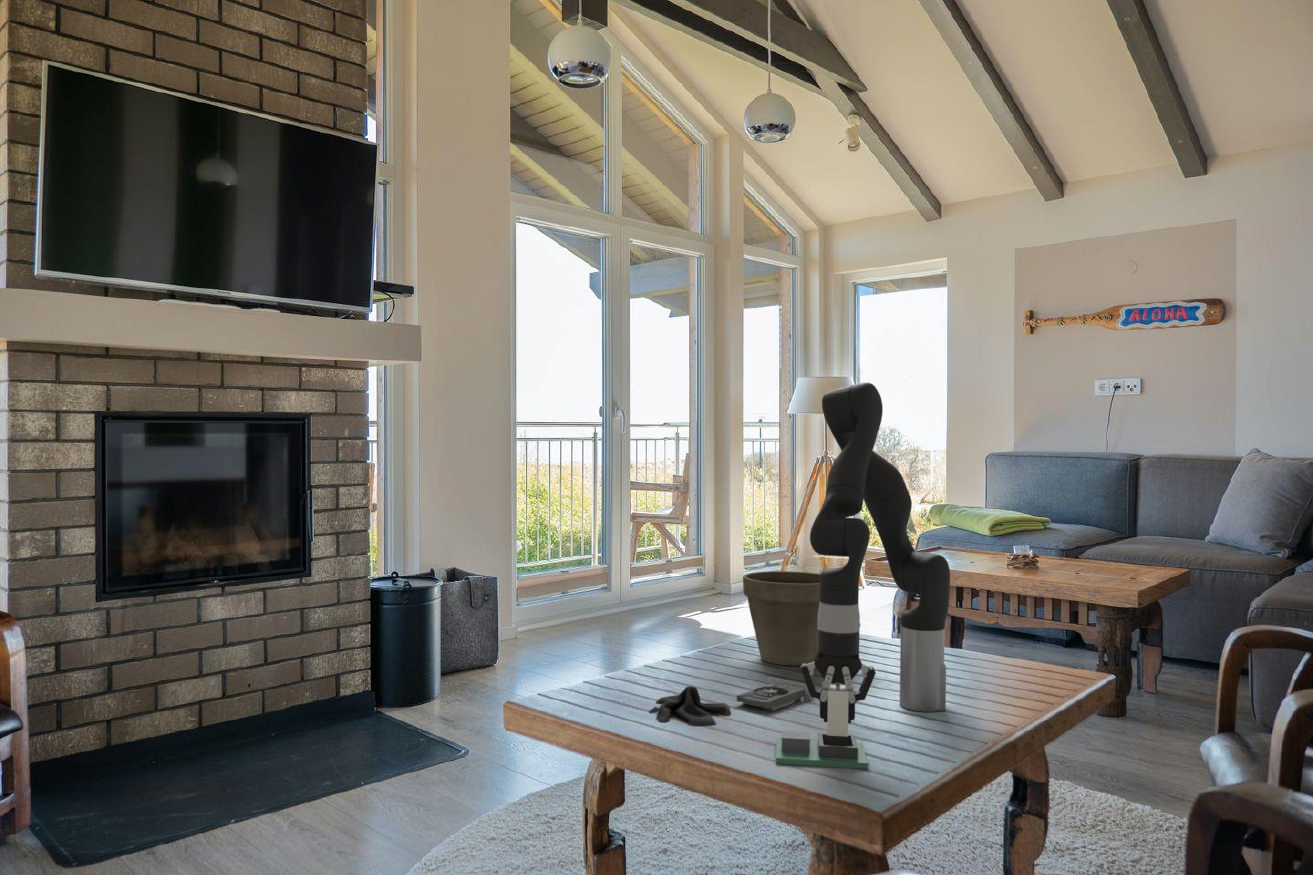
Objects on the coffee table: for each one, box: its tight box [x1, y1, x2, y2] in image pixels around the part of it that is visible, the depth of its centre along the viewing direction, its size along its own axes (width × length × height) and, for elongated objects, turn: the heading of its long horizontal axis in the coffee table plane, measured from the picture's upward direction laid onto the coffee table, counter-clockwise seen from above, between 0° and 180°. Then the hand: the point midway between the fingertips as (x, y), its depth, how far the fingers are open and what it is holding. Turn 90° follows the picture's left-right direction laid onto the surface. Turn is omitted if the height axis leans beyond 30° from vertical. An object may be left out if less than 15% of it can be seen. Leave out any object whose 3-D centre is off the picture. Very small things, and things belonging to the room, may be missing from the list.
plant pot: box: [742, 570, 821, 667], centre depth 247 cm, size 25×25×22 cm
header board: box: [775, 730, 869, 770], centre depth 174 cm, size 16×11×4 cm
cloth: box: [648, 685, 732, 726], centre depth 199 cm, size 22×19×6 cm
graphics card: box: [736, 676, 814, 711], centre depth 209 cm, size 17×4×12 cm
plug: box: [825, 683, 849, 737], centre depth 173 cm, size 4×4×9 cm
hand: (836, 721), depth 173 cm, fingers closed on plug, 3 cm apart
